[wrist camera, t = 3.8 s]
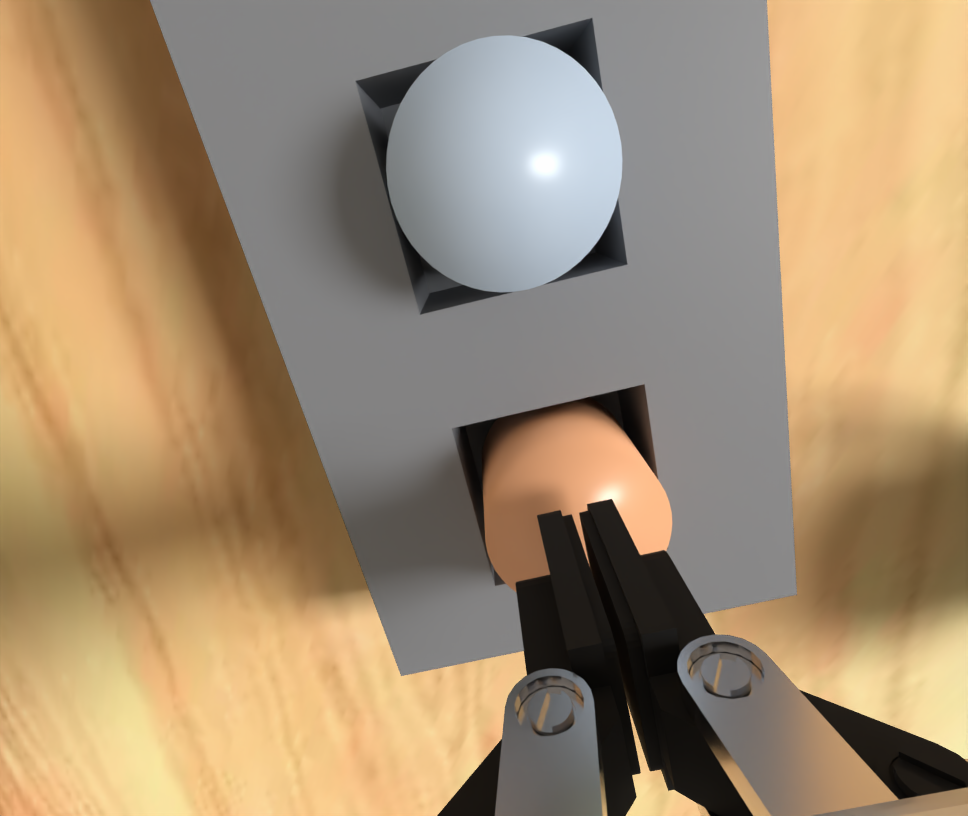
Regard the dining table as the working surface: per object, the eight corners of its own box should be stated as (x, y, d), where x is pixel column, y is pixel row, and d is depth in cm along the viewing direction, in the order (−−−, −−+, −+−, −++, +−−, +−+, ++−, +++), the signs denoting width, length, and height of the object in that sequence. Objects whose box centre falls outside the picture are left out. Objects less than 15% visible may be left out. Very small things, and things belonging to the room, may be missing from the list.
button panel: (629, -529, 12) (719, -940, 8) (729, 514, 21) (796, 594, 16) (98, -359, 12) (-92, -650, 8) (414, 582, 21) (401, 676, 17)
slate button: (564, 62, 13) (602, 5, 10) (594, 248, 15) (637, 263, 11) (386, 108, 14) (355, 71, 10) (433, 287, 15) (422, 315, 11)
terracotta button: (614, 375, 16) (659, 427, 12) (636, 506, 17) (682, 588, 14) (465, 410, 16) (465, 471, 12) (499, 536, 18) (507, 625, 14)
